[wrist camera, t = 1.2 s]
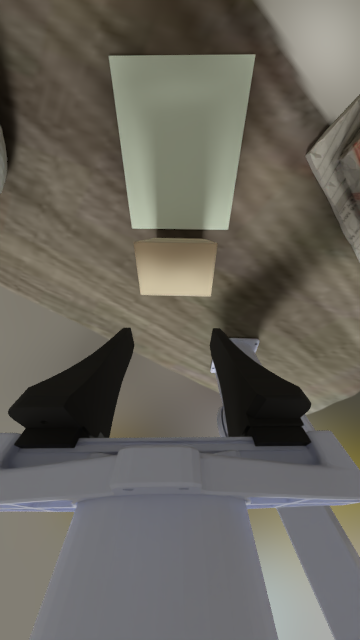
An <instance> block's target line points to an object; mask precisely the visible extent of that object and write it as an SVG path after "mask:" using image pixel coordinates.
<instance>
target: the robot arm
mask: <svg viewBox="0 0 360 640" xmlns="http://www.w3.org/2000/svg"><path fill="white" fill-rule="evenodd" d="M259 342H260V341H259V339H251V338H228V337H227V336H226V335H225V333H224V332H223V331H222V330H221V329H220V328H213V331H212V336H211V342H210V350H211V356H212V364H211V369H210V371H211V372H212V373H215V374H216V378H217V383H218V388H219V392H220V397H221V399H222V404H223V406H222V407H220V408H219V410H218V416H217V425H218V430H219V434H220V437H178V438H177V437H175V438H109V436H110V431H111V426H112V421H113V416H114V412H115V407H116V403H117V399H118V395H119V391H120V388H121V384H122V381H123V378H124V375H125V372H126V370H127V367H128V365H129V362H130V359H131V357H132V353H133V349H134V341H133V337H132V332H131V328H123V329H122V330H120V331H119V332H118V333H117V334H116V335H115V336H114V337H113V338H111V339H110V340H109V341H108V342H107V343H106V344H104V345H103V346H102V347H101V348H99V349H98V350H97V351H95V352H94V353H93V354H91V355H90V356H88V357H87V358H85V359H84V360H82V361H81V362H79V363H77V364H76V365H74V366H72V367H71V368H69V369H67V370H65V371H63V372H61V373H59V374H57V375H55V376H53V377H51V378H49V379H47V380H45V381H42V382H40V383H38V384H36V385H34V386H31V387H29V388H28V389H27V390H26V391H25V392H24V393H23V394H22V395H21V396H20V397H19V399H18V400H17V401H16V402H15V403H14V404H13V405H12V406H11V407H10V409H9V411H8V414H9V416H10V417H11V418H13V419H14V420H15V421H17V422H18V423H19V424H21V425H22V426H24V427H25V428H26V429H25V430H24V432H23V433H22V434H18V433H0V511H40V512H41V511H42V512H47V511H49V512H74V515H73V518H72V521H71V524H70V526H69V529H68V532H67V535H66V538H65V540H64V543H63V546H62V549H61V552H60V554H59V558H58V560H57V563H56V566H55V569H54V571H53V574H52V577H51V580H50V582H49V585H48V588H47V591H46V594H45V597H44V599H43V602H42V605H41V608H40V610H39V613H38V616H37V619H36V622H35V624H34V627H33V630H32V633H31V635H30V638H29V640H278V636H277V632H276V628H275V624H274V620H273V615H272V611H271V607H270V603H269V599H268V595H267V591H266V586H265V582H264V578H263V574H262V570H261V566H260V561H259V557H258V553H257V549H256V545H255V541H254V537H253V533H252V528H251V524H250V520H249V516H248V512H247V509H254V508H276V509H277V511H278V513H279V515H280V518H281V520H282V522H283V524H284V527H285V529H286V531H287V533H288V536H289V538H290V540H291V542H292V545H293V547H294V549H295V551H296V554H297V556H298V558H299V560H300V563H301V565H302V567H303V569H304V572H305V574H306V576H307V578H308V581H309V583H310V585H311V587H312V590H313V592H314V594H315V596H316V599H317V601H318V603H319V605H320V608H321V610H322V612H323V614H324V617H325V619H326V621H327V623H328V626H329V628H330V630H331V632H332V635H333V637H334V639H335V640H360V557H359V556H358V554H357V552H356V550H355V549H354V547H353V545H352V543H351V542H350V540H349V538H348V537H347V535H346V533H345V531H344V530H343V528H342V526H341V525H340V523H339V521H338V519H337V518H336V516H335V514H334V513H333V511H332V509H331V508H330V506H329V505H347V504H353V503H359V502H360V470H359V469H358V467H357V466H356V464H355V463H354V462H353V460H352V459H351V458H350V456H349V455H348V454H347V452H346V451H345V450H344V448H343V447H342V445H341V444H340V443H339V442H338V440H337V439H336V437H335V436H334V435H333V433H332V432H331V431H315V429H314V428H313V426H312V424H311V423H310V421H309V420H308V418H307V417H306V415H305V413H306V412H307V411H308V410H309V409H310V407H311V402H310V401H309V399H308V398H307V397H306V395H305V394H304V392H303V391H302V390H301V389H300V387H298V386H296V385H294V384H292V383H290V382H288V381H286V380H284V379H282V378H281V377H279V376H277V375H275V374H274V373H272V372H270V371H269V370H267V369H266V368H264V367H263V366H262V365H261V363H260V361H259V359H258V358H257V356H256V354H255V352H256V350H257V347H258V344H259ZM255 343H256V344H255ZM213 367H214V368H213Z"/></svg>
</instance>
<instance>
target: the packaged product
mask: <svg viewBox="0 0 360 640" xmlns="http://www.w3.org/2000/svg"><path fill="white" fill-rule="evenodd" d="M305 157H306V159H307V161H308V163H309V165H310V168H311V170H312V172H313V174H314V176H315V177H316V179H317V181H318V182H319V184H320V186H321V188H322V189H323V191H324V193H325V195H326V197H327V199H328V201H329V203H330V205H331V207H332V209H333V212H334V214H335V216H336V218H337V220H338V222H339V224H340V227H341V229H342V232H343V234H344V235H345V237H346V239H347V240H348V241H349V243H350V244H351V245H352V248H353V250H354V252H355V254H356V256H357V258H358V260H359V262H360V95H359V96H358V97H357V98H356V99H355V100H354V101H353V102H352V103H351V104H350V106H348V108H347V109H346V110H345V111H344V112H343V113H342V114H341V115H340V116H339V117H338V118H337V119H336V120H335V121H334V122H333V123H332V124H331V125H330V127H329V128H328V129H327V130H326V131H325V132H324V133H323V135H322V136H321V137H320V138H319V139H318V141H317V142H316V143H315V144H314V146H313V147H312V148H311V149H310V151H309V152H308V153H307V154H306V156H305Z"/></svg>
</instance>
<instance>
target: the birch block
mask: <svg viewBox="0 0 360 640" xmlns="http://www.w3.org/2000/svg"><path fill="white" fill-rule="evenodd" d="M217 244H218V243H215V242H212V241H209V240H206V239H203V238H153V239H148V240H143V241H137V242H134V248H135V256H136V263H137V270H138V277H139V285H140V292H141V295H171V296H211V289H212V282H213V274H214V267H215V259H216V251H217Z"/></svg>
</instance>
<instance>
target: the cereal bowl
mask: <svg viewBox="0 0 360 640" xmlns="http://www.w3.org/2000/svg"><path fill="white" fill-rule="evenodd" d="M6 177H7V156H6V145H5V142H4V137H3V133H2V128H1V126H0V193H1V192H2V190H3V187H4V184H5V181H6Z"/></svg>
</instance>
